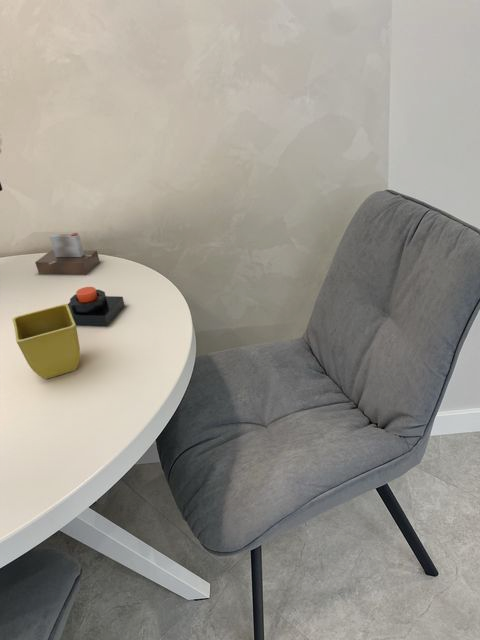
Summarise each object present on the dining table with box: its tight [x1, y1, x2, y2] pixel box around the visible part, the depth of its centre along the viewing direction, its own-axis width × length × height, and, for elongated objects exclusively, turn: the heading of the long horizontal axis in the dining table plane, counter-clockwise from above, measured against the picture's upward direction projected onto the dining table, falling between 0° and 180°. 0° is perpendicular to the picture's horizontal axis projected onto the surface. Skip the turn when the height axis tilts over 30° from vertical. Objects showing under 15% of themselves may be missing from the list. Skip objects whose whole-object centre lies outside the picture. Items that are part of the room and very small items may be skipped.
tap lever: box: [49, 232, 84, 257], centre depth 124 cm, size 6×2×5 cm, turn 78°
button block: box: [66, 289, 126, 327], centre depth 104 cm, size 10×8×4 cm
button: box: [75, 286, 98, 302], centre depth 103 cm, size 4×4×2 cm
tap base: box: [34, 249, 101, 276], centre depth 126 cm, size 12×9×3 cm
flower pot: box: [12, 303, 81, 380], centre depth 88 cm, size 9×9×9 cm
